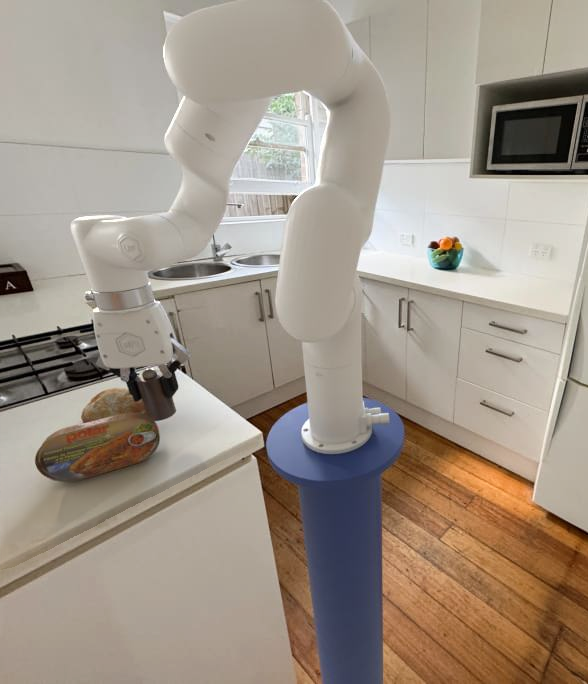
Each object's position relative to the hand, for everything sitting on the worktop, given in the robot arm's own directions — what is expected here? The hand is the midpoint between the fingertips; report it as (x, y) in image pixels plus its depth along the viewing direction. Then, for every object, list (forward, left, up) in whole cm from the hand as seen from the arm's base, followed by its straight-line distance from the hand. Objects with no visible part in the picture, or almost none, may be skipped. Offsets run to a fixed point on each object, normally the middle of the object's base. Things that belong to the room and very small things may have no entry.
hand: (156, 394), depth 68 cm
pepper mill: (0, 0, -4) cm, 4 cm away
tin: (+5, +10, -7) cm, 13 cm away
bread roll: (+10, -4, -7) cm, 13 cm away
